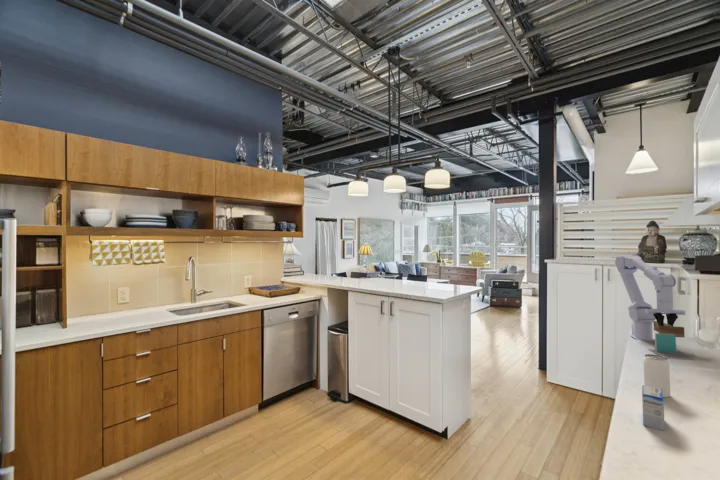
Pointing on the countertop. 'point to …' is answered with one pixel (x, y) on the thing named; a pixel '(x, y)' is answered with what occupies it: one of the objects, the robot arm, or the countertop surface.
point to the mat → (672, 355)
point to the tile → (665, 342)
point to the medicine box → (653, 407)
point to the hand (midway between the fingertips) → (665, 329)
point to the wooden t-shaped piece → (669, 329)
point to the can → (657, 373)
